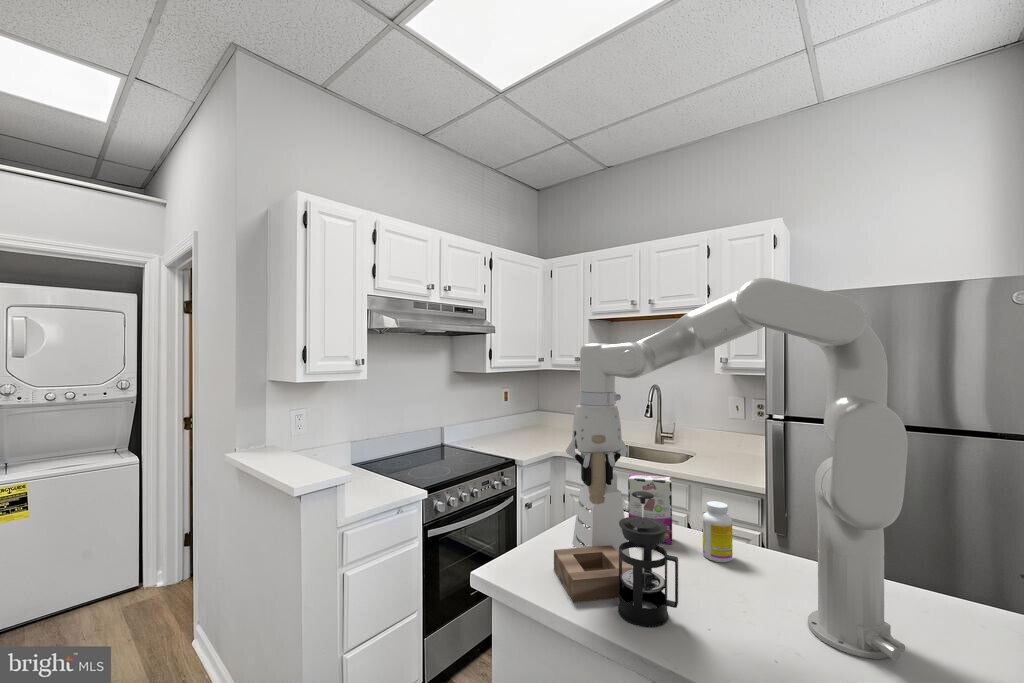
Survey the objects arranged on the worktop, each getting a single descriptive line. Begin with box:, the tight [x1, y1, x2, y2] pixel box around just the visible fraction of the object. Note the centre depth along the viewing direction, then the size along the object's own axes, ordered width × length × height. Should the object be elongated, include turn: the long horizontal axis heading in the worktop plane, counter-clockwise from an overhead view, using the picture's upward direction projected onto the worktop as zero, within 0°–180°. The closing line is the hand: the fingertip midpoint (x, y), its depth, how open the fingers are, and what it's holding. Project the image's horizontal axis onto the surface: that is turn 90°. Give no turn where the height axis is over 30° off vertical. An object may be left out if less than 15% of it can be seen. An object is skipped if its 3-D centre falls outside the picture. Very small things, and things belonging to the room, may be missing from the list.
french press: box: [617, 491, 679, 628], centre depth 89 cm, size 12×9×23 cm
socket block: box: [553, 545, 633, 604], centre depth 100 cm, size 14×14×4 cm
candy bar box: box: [627, 473, 673, 545], centre depth 123 cm, size 11×5×16 cm, turn 73°
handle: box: [588, 436, 606, 504], centre depth 101 cm, size 5×6×15 cm
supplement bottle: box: [702, 500, 734, 563], centre depth 113 cm, size 7×7×13 cm
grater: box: [571, 471, 631, 557], centre depth 116 cm, size 10×10×20 cm
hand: (596, 482), depth 101 cm, fingers closed on handle, 4 cm apart
